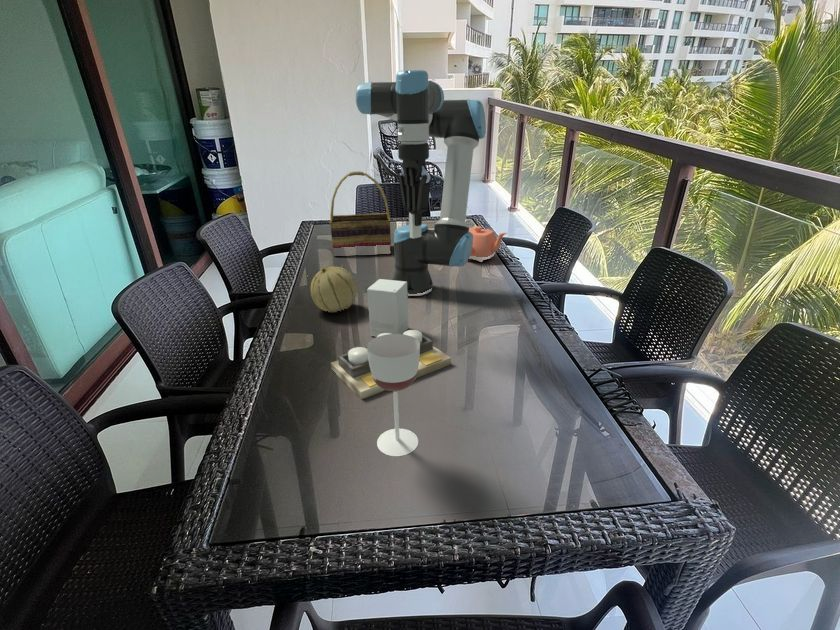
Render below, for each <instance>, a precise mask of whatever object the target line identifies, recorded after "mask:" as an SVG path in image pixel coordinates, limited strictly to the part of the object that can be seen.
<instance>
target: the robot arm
mask: <svg viewBox="0 0 840 630" xmlns="http://www.w3.org/2000/svg"><path fill="white" fill-rule="evenodd" d="M355 104H356V108H357V110H358V112H360V113H361V114H363V115H370V116H372V115H377V116H378V115H379V116H381V117H385V118H387V119H390V120H393V121H395V122H397V140H398V141H399V142H400V143H398V145H397V148H398V149H397V152H398V153H397V155H398V159H399V160H401V161H402V164H401V169H397V170H396V175H397V178H398V180H399V181H398V182H399V187H400V194H401V200H402V205H403V209H406V211H407V213H408V224H405V225H401V226H399V227H397V228H396V229H395V230H394V232H393V251H394V252H393V256H394V272H393V274H392V279H391V280H395V281H405V282H407V293H409V294H417V293H423V292H425V291H427V290H429V289H431V288H432V286H433V287H434V282H433V280H432V277H431V274H430V271H429V267H428V266H429V265H435V266H444V267H446V266H447V267H451V268H452V267H458V268H459V267H460V268H461V267H463V266H466V264H467V263H468V261H469V260H468V259H469V257H470V254H471V250H472V245H473V234H472V233H471V232H469V229H470V227H469V224H467V222H466V219H467V208H468V201H469V190H470V184H471V183H470V182H471V174H472V166H473V157H474V149H476V148H477V147H478V146H479V144H480V140H482V139H484V138H485V137H486V126H487V125H486V113H485V108H484V105H483V103H482V101H480V100H478V99H469V98H467V99H445V94H444V90H443V88H442V87H441V85H440V84H438V83H437V82H436V81H433V80H429V74H428V72H427V70H423V69H421V70H419V69H412V70H411V69H410V70H407V69H406V70H400V71H397V73H396V74H395V81H388V82H387V81H386V82H385V81H384V82H382V81H381V82H380V81H379V82H377V81H376V82H372V81H370V82H363V83H362V82H361V83H360V84H358V86H357V87H356V90H355ZM430 137H432V138H438V139H443V143H444V145H445V146H446V147H447V149H446V151H447V153H446V159H445V169H444V170H445V171H444V177H443V187H442V197H441V205H440V215H439V216H440V217H439V220H437V221H436V222H435V223H434V228H433V229H429V227H428V224H426V223H422V219H423V218H422V213H424V212H427V211H428V205H429V199H430V198H429V197H430V191H431V184H432V181H433V178H434V174H432V173H430V174H429V172H427V165H426V160H428V159H429V157H430V144H429V143H428V141H429V140H430Z"/></svg>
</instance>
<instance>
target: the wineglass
mask: <svg viewBox="0 0 840 630" xmlns="http://www.w3.org/2000/svg"><path fill="white" fill-rule="evenodd" d="M366 347H367V355H368V360H369V366H370V370H371V373H372V376H373V379H374V381H375V383H376V384H377V385H378V386H379V387H381V388H382V389H385V390H384V391H389V392H393V414H394V418H393V419H394V428H391V429H388V430H385V431H384V432H382V433H381V434H380V435H379V437H378V438H377V441H376V445H377V448H378V450H379V451H380V452H381V453H383V454H385V455H387V456H390V457H401V456H406V455H408V454H410V453H413V451H414V450H416V448H417V447H418V445H419V438H418V436H417V434H415V433H414V432H413V431H411V430H409V429H406V428H400V422H399V421H400V417H399V416H400V415H399V393H398V392H399V391H403V390H406V389H407V388H409V387H411V386H412V385H413V383H414V382H415V381H416V379H417V378H416V375H417V370H418V365H419V356H420V343H419V341H418V340H417V339H416V338H414V337H412V336H408V335H403V334H388V335H382V336H379V337H373V338H372V339H371V340H370V341H368V343H367V344H366Z"/></svg>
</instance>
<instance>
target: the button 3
mask: <svg viewBox="0 0 840 630" xmlns="http://www.w3.org/2000/svg"><path fill="white" fill-rule="evenodd" d="M403 335H408V336H412V337H414V338H416V339H417V340H418V341H419V343H420V344H421V343H422V335H423V334H422V332H421V331H420V330H417V329H407V330H406V331H405V332H404V333H403Z"/></svg>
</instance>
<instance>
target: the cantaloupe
mask: <svg viewBox="0 0 840 630" xmlns="http://www.w3.org/2000/svg"><path fill="white" fill-rule="evenodd" d="M357 292H358V287H357V282H356V280H355V278H354V276H353V274H351V272H349V271H348V270H346V269H345V268H343V267H340V266H329V267H326V268H325V267H324V268H321V269H320V270H319V271H318V272H317V273H316V274H315V275H314V276H313V278H312V280H311V283H310V296H311V298H312V301H313V303H314V304H315V305H316V306H317V308H319V309H321V310H322V311H324V312H327V311H328V312H327V313H338V312H337V311H340V312H342V311H341V310H343V311H345V310H344V309H346V310H347V309H349V308H350V307H351V306H352V305H353V303H354V301H356V298H357Z"/></svg>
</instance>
